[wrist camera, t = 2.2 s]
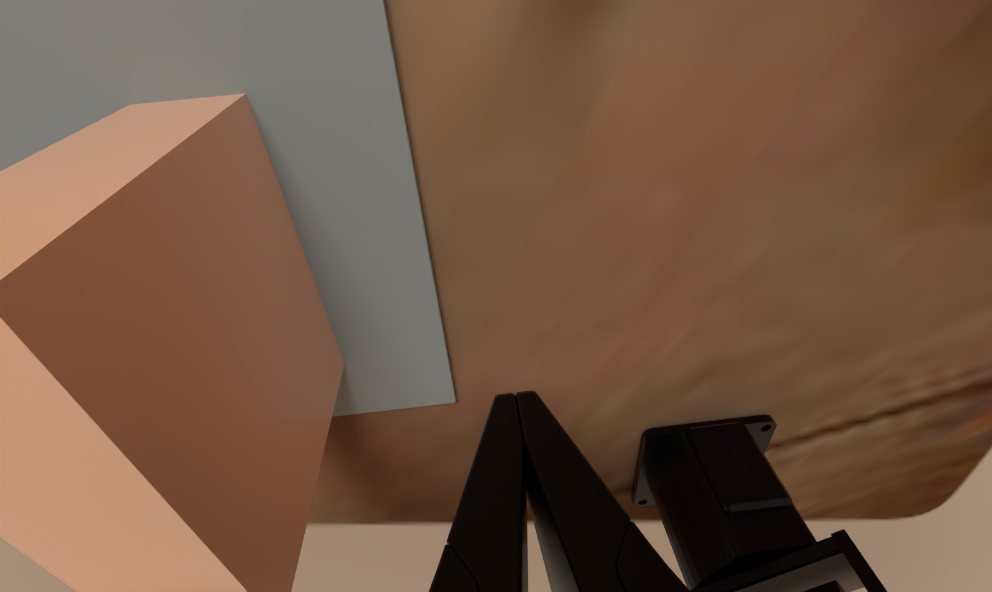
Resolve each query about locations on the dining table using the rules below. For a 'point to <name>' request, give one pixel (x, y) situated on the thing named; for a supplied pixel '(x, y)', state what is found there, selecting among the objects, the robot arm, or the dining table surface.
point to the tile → (159, 356)
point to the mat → (266, 146)
